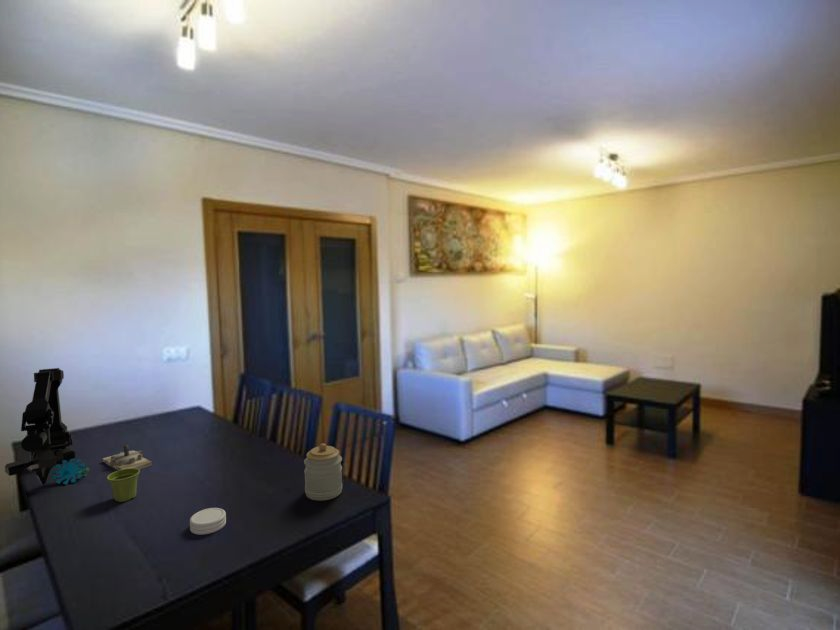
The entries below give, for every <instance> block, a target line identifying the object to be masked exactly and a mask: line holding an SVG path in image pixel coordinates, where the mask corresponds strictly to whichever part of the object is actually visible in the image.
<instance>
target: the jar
mask: <svg viewBox="0 0 840 630" xmlns="http://www.w3.org/2000/svg"><path fill="white" fill-rule="evenodd" d="M305 455H306V456H305V457H306V458H305V459H304V460H303V464H304V465H305V468H304V483H305V484H304V492H305V496H306V498H308V499H309V500H312V501H320V502H321V501H329V500H331V499H335V498H337V497H338V496H340V494H341V493H342V491H343V479H342V478H343V474H342V473H343V471H342V470H343V466H342V464H341V462H342V461H343V457H342V456H341V455H340V450H339V449H337V448H336V447H334V446H331V445H327V444H326V443H321V444H319V445H318V446H315V447H313V448H311V450H309V451H308V452H307V453H306V454H305Z"/></svg>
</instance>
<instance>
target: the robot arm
mask: <svg viewBox="0 0 840 630" xmlns="http://www.w3.org/2000/svg"><path fill="white" fill-rule="evenodd" d="M64 378H65V375H64V370H63V369H60V368H59V367H56V368H55V367H54V368H43V369H39V370H38V372H34V373H33V383H35V384H34V390H33V395H32V399H31V401H30V402H29V403H27V404H26V406H25V408H24V409H25V410H24V411H23V412H22V415H21V416H22V417H21V427H20V431H21V432H26V435H25V437H24V438H23V439H22V440H21V443H20V446H21V448H22V450H24V451H25V452H29V459H30V460H29V461H25V462H22V461H21V460H17V461H13V462H9V463H6V465H4V473H6V474H7V475H8V476H9V477H10V476H11V477H12V476H15V475H18V474H22V473H23V472H24V471H25V469H26V470H27V471H29V472H30V473H34V474H35V476H36V478H37V479H38V482H40V484H41V486H44V485H45V484H46V483H47V480H48V477H49V474H50V472H51V471H52V470H51V469H52V468H53V467H56V465H57V464H63V463H62V461H63V460H67V462H70V459H75V458H76V451H75V450H74V449H72V448H70V446H73V445H74V442H73V436H72V434H71V433H70V431H69V430H68V426H67V425H66V424H65V423H64V422H62V414H61V413H62V412H61V403H60V395H59V388H60V386H61V384H62V382H63V380H64Z"/></svg>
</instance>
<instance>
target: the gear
mask: <svg viewBox="0 0 840 630" xmlns="http://www.w3.org/2000/svg"><path fill="white" fill-rule="evenodd" d="M67 462H68V463H67ZM60 464H62V467H61V465H60ZM80 467H81V468H80ZM85 467H86V464H85V463H84V462H82V460H81V458H77V460H76V461H75V458H74V459H70V460H69V461H67V460H63V461H62V463H58V464H57V465H56V466H55V468H56V469H58V470H59V471H57V470H56V469H53V470H51V474H52V480H53V481H55V480H56V484H58V485H60V484H61V483H62V484H63V485H65V486H67V485H68V484H69V481H71V484H74V483H76V482H77V480H76V477H77V478H78V479H81V478H83V477H86V476H87V473H88V472H89V471H90V468H89V467H86V468H85Z"/></svg>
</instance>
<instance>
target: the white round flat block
mask: <svg viewBox="0 0 840 630" xmlns="http://www.w3.org/2000/svg"><path fill="white" fill-rule="evenodd" d="M226 515H227V513H226V511H225V510H224V509H223V508H220V507H209V508H204V509H202V510H199V511H198V512H195V513H194V514H193V515H192V516H191V517H190V519H189V530H190V532H191V533H192V534H195V535H197V536H198V535H210V534H212V533H215V532H217V531H220V530H221V529H222V528H224V527H225V525H226V523H227V516H226Z"/></svg>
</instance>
